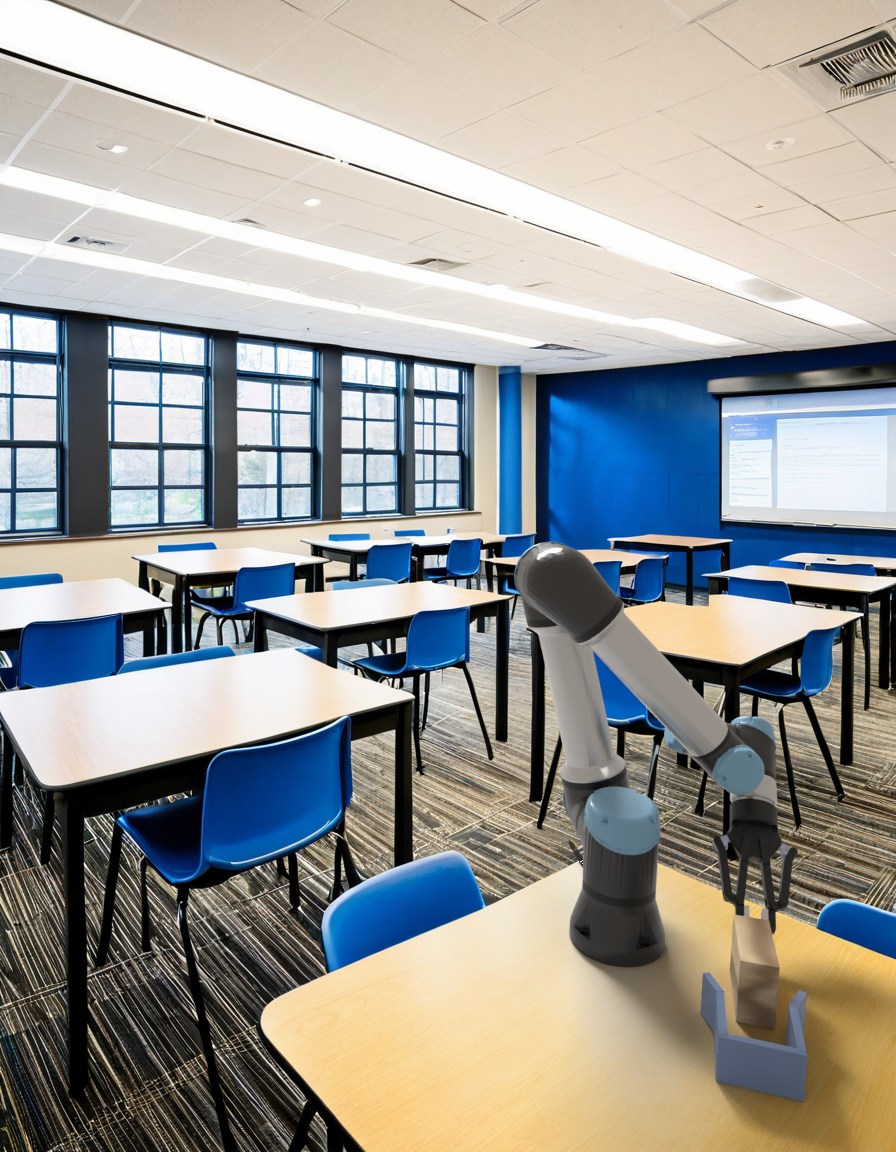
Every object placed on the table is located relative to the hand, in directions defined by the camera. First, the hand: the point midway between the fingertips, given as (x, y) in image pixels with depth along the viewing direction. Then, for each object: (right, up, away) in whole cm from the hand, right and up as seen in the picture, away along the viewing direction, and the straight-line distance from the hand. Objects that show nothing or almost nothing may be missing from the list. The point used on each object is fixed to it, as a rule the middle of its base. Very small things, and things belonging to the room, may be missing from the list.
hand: (755, 953), depth 117 cm
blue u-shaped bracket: (-7, -5, -18) cm, 20 cm away
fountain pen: (-21, +1, +34) cm, 41 cm away
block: (-3, -3, -6) cm, 8 cm away
